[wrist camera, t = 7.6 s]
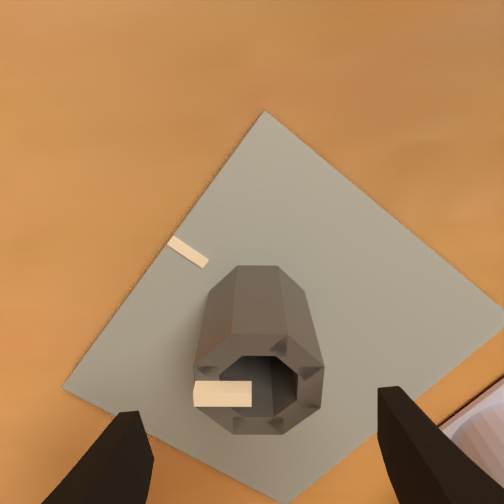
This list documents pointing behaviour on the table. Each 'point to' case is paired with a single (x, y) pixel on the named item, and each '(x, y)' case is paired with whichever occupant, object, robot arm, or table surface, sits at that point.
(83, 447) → the table surface
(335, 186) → the grey square plate
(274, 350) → the knob
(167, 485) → the table surface
